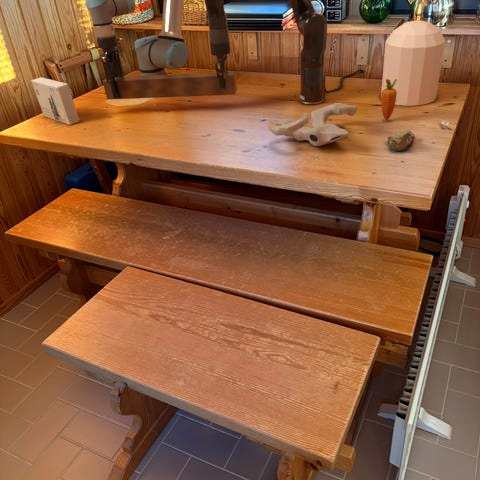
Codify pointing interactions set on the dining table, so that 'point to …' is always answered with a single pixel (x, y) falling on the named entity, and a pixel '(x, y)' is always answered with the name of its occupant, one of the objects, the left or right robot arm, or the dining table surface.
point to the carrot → (388, 99)
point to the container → (414, 62)
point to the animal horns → (314, 125)
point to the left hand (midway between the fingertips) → (119, 95)
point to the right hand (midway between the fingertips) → (224, 85)
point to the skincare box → (55, 100)
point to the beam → (172, 86)
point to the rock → (400, 140)
